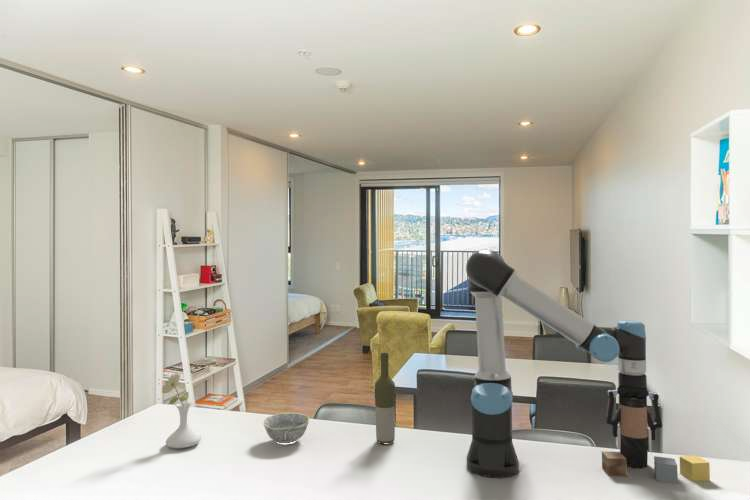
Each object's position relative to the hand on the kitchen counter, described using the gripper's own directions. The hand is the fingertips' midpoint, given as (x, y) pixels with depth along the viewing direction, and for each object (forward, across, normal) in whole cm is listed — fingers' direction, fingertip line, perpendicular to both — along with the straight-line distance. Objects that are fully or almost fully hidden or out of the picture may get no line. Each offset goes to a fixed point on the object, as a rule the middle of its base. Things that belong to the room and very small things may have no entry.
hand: (633, 448), depth 148 cm
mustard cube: (+4, +14, -6) cm, 16 cm away
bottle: (+5, -77, -1) cm, 77 cm away
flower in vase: (+5, -143, -21) cm, 144 cm away
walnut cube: (+4, -7, -8) cm, 11 cm away
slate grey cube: (+4, +6, -9) cm, 12 cm away
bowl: (+5, -110, -9) cm, 110 cm away
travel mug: (+4, 0, 0) cm, 4 cm away
